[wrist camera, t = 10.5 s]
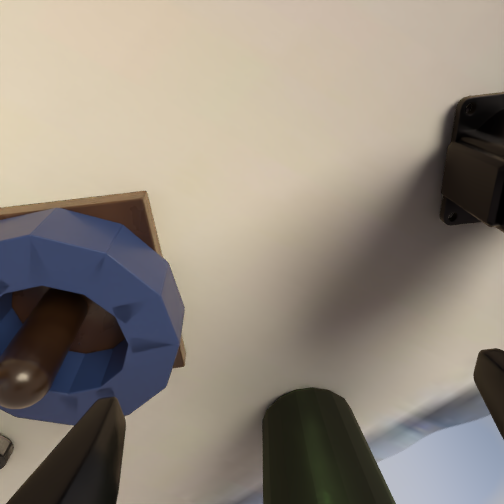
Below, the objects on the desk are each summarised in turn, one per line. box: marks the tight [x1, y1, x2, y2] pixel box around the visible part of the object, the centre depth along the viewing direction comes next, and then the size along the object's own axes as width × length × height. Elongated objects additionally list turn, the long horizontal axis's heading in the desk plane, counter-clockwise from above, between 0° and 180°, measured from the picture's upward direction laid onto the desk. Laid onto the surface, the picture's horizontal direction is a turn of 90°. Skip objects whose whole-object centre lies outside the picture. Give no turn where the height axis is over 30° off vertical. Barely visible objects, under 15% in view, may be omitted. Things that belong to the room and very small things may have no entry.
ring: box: [0, 208, 185, 425], centre depth 19 cm, size 11×11×3 cm
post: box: [0, 191, 186, 409], centre depth 18 cm, size 11×11×8 cm
